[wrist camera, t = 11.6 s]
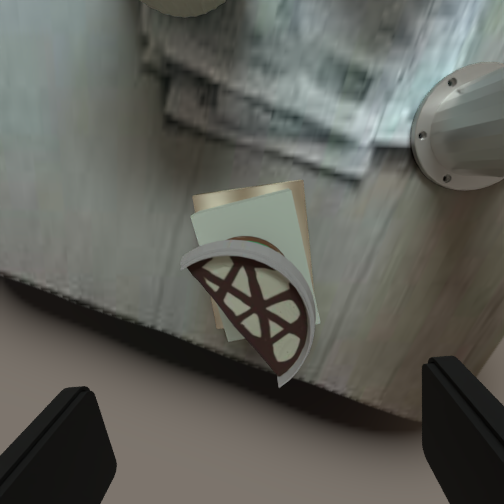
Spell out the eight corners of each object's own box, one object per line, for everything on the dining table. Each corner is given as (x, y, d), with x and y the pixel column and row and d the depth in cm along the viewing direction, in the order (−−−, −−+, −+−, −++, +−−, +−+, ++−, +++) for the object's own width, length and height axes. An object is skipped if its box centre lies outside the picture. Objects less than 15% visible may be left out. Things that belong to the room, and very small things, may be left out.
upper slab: (288, 188, 33) (291, 190, 29) (314, 307, 36) (320, 323, 32) (199, 210, 34) (190, 215, 30) (232, 324, 37) (228, 342, 33)
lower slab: (299, 179, 36) (303, 180, 32) (311, 304, 40) (316, 318, 36) (199, 193, 37) (192, 196, 33) (221, 314, 41) (216, 328, 37)
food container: (328, 294, 31) (355, 349, 21) (279, 326, 32) (283, 393, 23) (254, 196, 29) (247, 208, 19) (204, 234, 30) (174, 263, 21)
